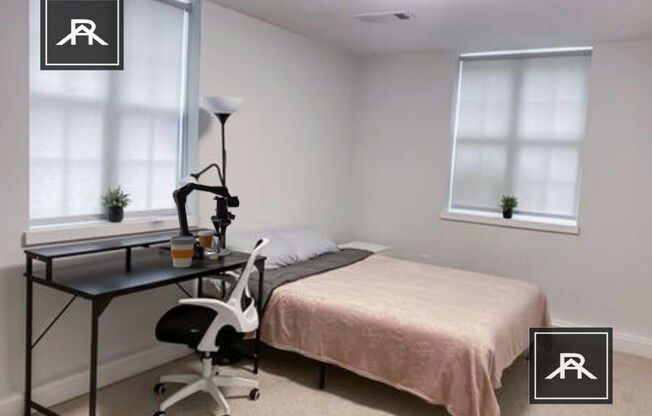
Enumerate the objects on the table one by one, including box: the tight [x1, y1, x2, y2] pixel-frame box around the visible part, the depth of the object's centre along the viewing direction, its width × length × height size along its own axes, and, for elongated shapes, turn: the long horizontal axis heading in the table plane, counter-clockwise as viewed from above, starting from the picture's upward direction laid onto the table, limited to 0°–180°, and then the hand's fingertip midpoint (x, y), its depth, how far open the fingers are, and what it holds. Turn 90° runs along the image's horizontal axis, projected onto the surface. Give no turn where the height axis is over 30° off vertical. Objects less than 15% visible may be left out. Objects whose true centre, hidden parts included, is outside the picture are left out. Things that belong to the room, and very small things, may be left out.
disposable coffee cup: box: [197, 230, 215, 251], centre depth 326 cm, size 10×10×12 cm
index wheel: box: [204, 238, 231, 257], centre depth 311 cm, size 15×15×10 cm
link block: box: [209, 253, 219, 261], centre depth 296 cm, size 4×4×4 cm
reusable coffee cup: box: [169, 235, 195, 268], centre depth 281 cm, size 12×12×15 cm
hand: (220, 234), depth 309 cm, fingers open, 9 cm apart
